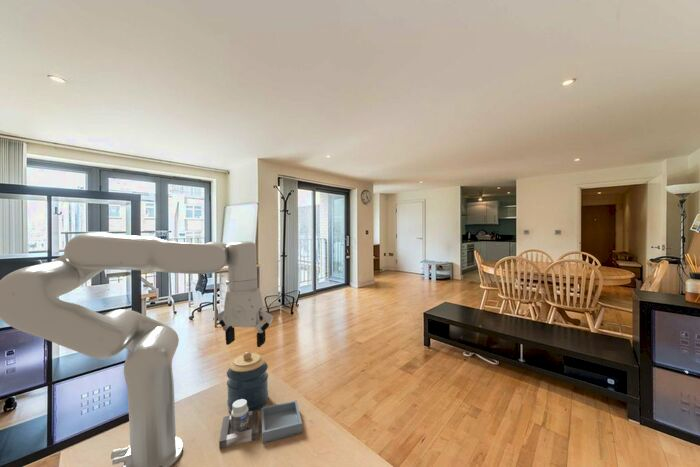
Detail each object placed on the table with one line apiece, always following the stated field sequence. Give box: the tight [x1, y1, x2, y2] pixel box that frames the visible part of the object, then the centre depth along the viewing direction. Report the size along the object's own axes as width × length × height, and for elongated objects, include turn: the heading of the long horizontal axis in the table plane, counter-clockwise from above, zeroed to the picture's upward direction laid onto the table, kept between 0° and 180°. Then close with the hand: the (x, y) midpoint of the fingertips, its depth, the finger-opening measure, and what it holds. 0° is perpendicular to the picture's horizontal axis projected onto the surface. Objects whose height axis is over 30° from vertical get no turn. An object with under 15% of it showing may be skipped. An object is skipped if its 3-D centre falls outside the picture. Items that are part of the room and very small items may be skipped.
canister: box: [226, 351, 269, 413], centre depth 92 cm, size 13×13×18 cm
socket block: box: [218, 410, 259, 449], centre depth 80 cm, size 10×10×2 cm
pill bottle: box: [230, 399, 250, 434], centre depth 80 cm, size 5×5×8 cm
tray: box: [260, 399, 303, 444], centre depth 83 cm, size 11×11×3 cm
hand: (245, 343), depth 79 cm, fingers open, 9 cm apart
